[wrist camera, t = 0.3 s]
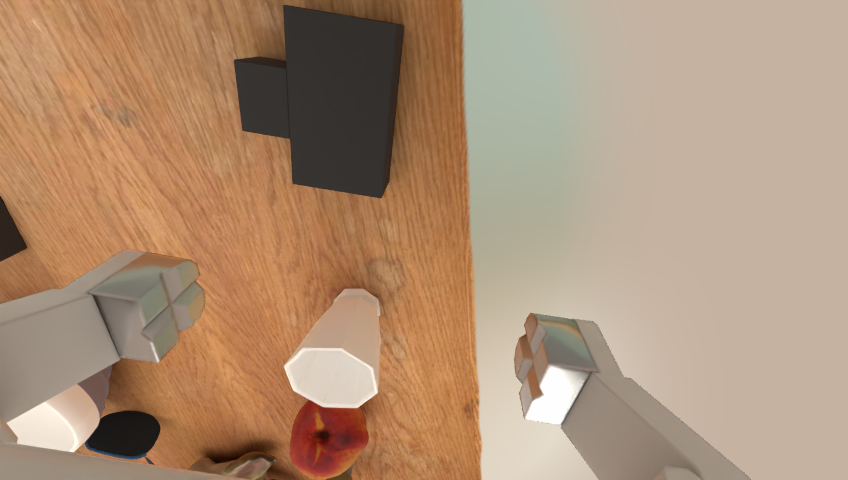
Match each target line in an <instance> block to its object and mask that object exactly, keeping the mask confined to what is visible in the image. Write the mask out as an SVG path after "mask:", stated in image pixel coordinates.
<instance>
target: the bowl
mask: <svg viewBox="0 0 848 480" xmlns="http://www.w3.org/2000/svg"><path fill="white" fill-rule="evenodd" d="M111 372H112V365H110V366H108V367H107V368H105V369H103V370H101V371H99V372H98V373H96V374H94V375H92V376H90V377H88V378H87V379H85V380H83V381H81V382H79V383H78V384H76V385H74V386H72V387H70V388H69V389H67V390H65V391H63V392H61V393H60V394H58V395H56V396H54V397H52V398H51V399H49V400H47V401H45V402H43V403H42V404H40V405H38V406H36V407H34V408H32V409H31V410H29V411H27V412H25V413H23V414H22V415H20V416H18V417H16V418H14V419H13V420H11V421H9V422H7V424H8V426H9V427H10V428H11V429H12V431H13V432H14V433H15V435H16V436H17V437H18V440H17V444H22V445H28V446H35V447H41V448H48V449H55V450H61V451H68V452H75V451H76V450H77V449H78V448H79V447H80V446H81V445H82V444H83V443H84V442H85V441H86V440H87V439H88V438H89V437H90V436H91V434H92V433H93V432H94V430H95V429H96V428H97V427H98V424H99V421H100V418H101V416H102V413H103V410H104V408H105V399H106V398H107V396H108V393H109V378H110V375H111Z"/></svg>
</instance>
